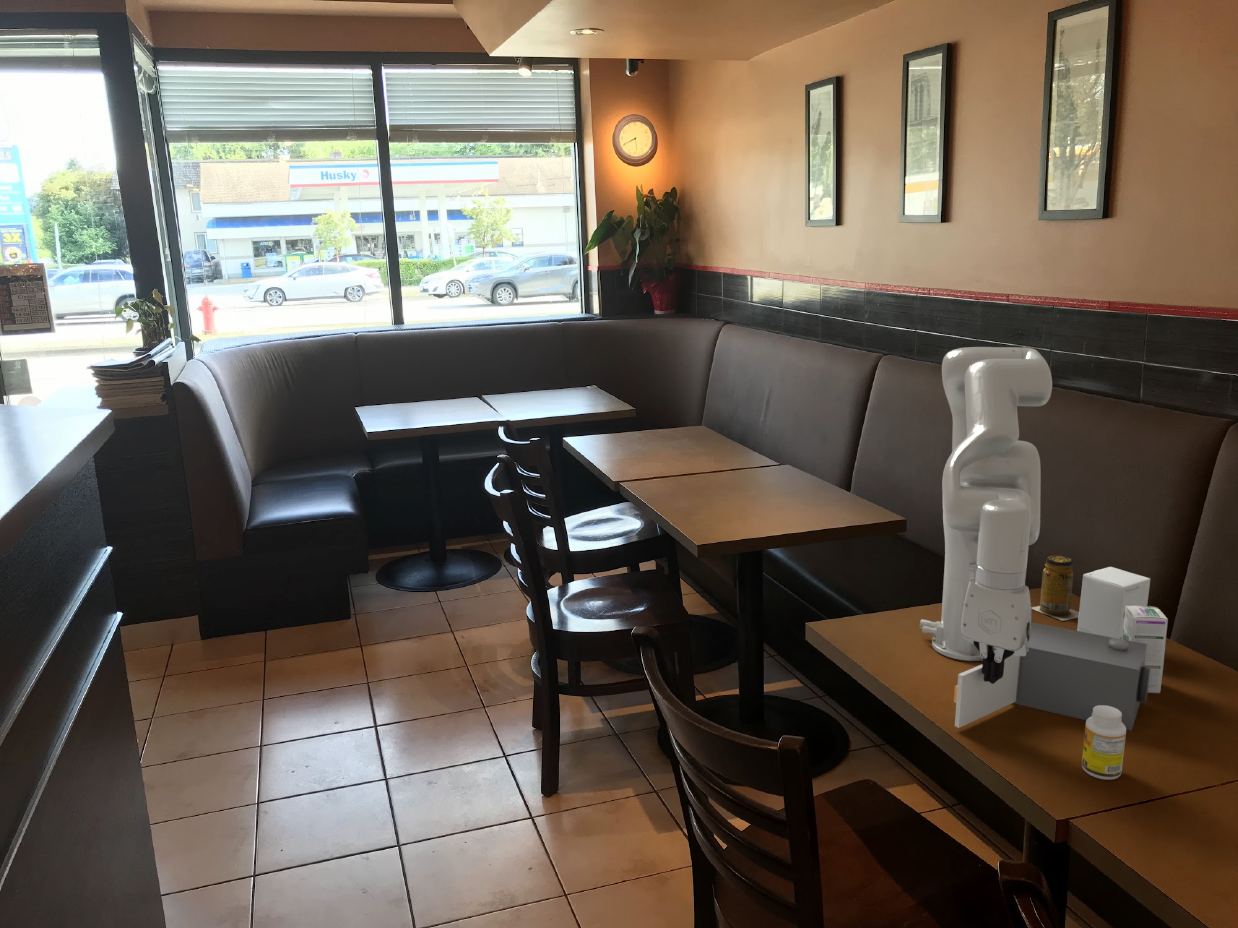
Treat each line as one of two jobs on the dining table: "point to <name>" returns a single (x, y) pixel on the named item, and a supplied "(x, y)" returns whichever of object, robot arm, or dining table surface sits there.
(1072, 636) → the box
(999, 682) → the side door
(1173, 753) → the dining table surface
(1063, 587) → the condiment
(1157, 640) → the syrup box
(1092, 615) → the supplement box
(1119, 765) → the supplement bottle
